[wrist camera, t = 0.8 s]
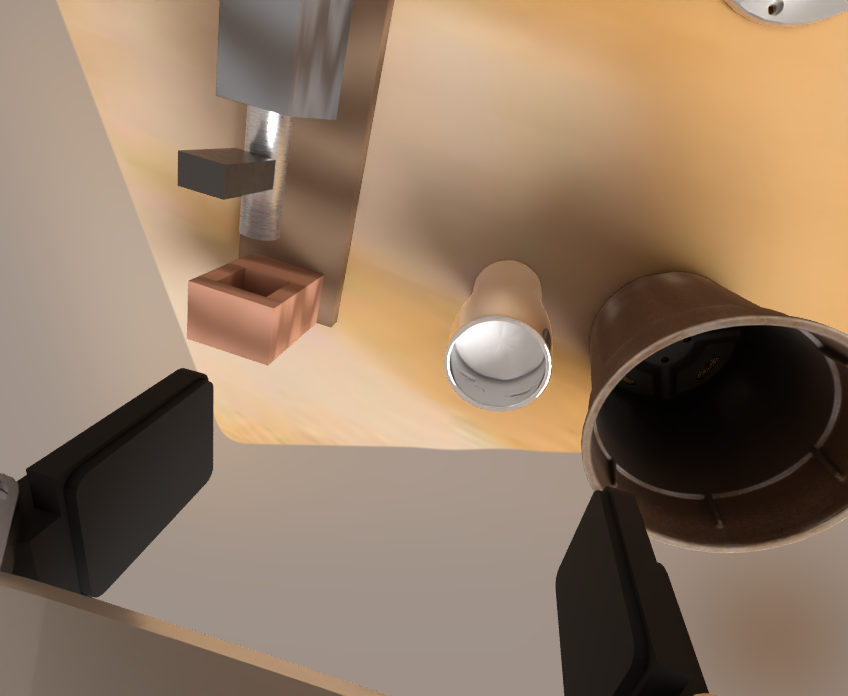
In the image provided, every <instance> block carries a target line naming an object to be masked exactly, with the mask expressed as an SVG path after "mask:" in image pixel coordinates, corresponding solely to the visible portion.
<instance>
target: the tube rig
mask: <svg viewBox="0 0 848 696" xmlns="http://www.w3.org/2000/svg"><path fill="white" fill-rule="evenodd" d="M393 4H394V0H220V9H219V33H218V58H217V83H216V96H219V97H223V98H226V99H229V100H233V101H236V102H240V103H243V104H247V105H250V106H254V107H257V108H261V109H264V110H268V111H271V112H274V113H278V114H281V115H285V116H291V117H293V118H292V127H291V136H290V145H289V154H288V164H287V173H286V182H285V191H284V201H283V210H282V219H281V228H280V238H279V239H278V240H274V241H262V240H256V239H252V238H248V237H246V236H243V235H242V234H240V247H239V260H236V261H234V262H232V263H229V264H227V265H224V266H222V267H220V268H217V269H215V270H213V271H210V272H208V273H206V274H203V275H201V276H199V277H196V278H194V279H192V280H189V281H188V322H187V339H190V340H193V341H196V342H199V343H202V344H205V345H208V346H211V347H214V348H217V349H220V350H223V351H226V352H229V353H232V354H235V355H238V356H241V357H244V358H247V359H250V360H253V361H256V362H259V363H262V364H265V365H269V364H270V363H271V362H272V361H274V360H275V359H276V358H277V357H278V356H279V355H280V354H281V353H283V352H284V351H285V350H286V349H287V348H288V347H289V346H291V345H292V344H293V343H294V342H295V341H296V340H297V339H299V338H300V337H301V336H302V335H303V334H304V333H305V332H306V331H308V330H309V329H310V328H311V327H312V326H313V325H314V324H316V323H319V324H322V325H325V326H328V327H332V326H333V325H334V324H335V323H336V322H337V317H338V311H339V306H340V300H341V294H342V289H343V283H344V278H345V272H346V267H347V261H348V255H349V250H350V244H351V239H352V233H353V227H354V222H355V216H356V211H357V205H358V200H359V194H360V188H361V183H362V177H363V172H364V166H365V160H366V155H367V149H368V144H369V138H370V132H371V127H372V121H373V116H374V110H375V105H376V99H377V93H378V88H379V82H380V77H381V71H382V65H383V60H384V54H385V49H386V43H387V38H388V32H389V26H390V21H391V15H392V10H393Z"/></svg>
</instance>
